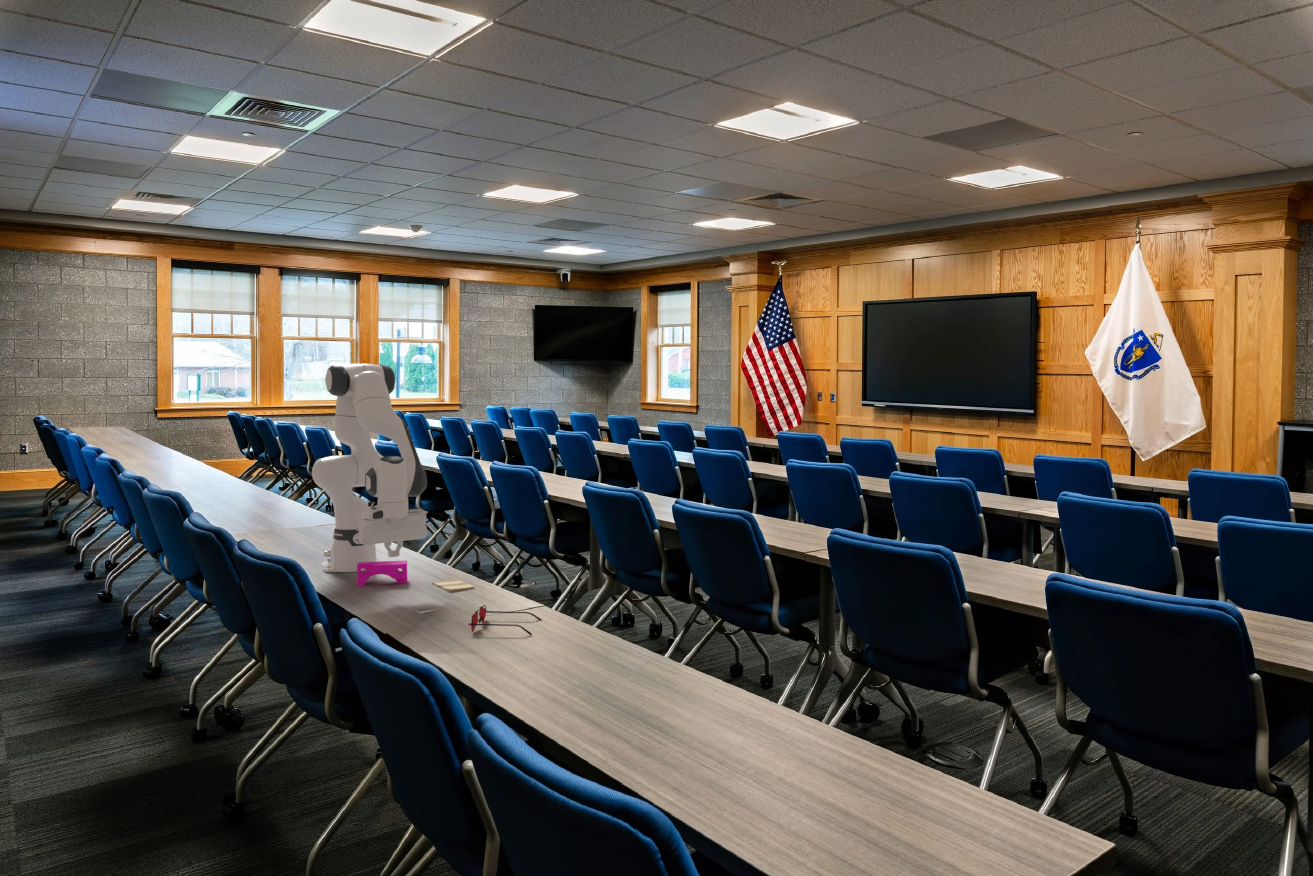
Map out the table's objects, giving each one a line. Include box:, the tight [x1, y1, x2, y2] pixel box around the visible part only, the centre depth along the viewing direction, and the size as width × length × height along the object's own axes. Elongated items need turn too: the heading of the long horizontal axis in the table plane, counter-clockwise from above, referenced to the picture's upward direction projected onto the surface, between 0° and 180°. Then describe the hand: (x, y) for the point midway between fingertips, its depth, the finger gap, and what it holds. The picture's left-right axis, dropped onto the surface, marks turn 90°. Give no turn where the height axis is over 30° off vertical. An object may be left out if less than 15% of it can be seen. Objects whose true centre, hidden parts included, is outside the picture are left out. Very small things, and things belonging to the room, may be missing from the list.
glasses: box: [467, 604, 543, 636], centre depth 233 cm, size 14×16×5 cm
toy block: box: [356, 560, 408, 586], centre depth 282 cm, size 15×6×8 cm, turn 103°
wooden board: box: [431, 578, 475, 593], centre depth 279 cm, size 14×8×1 cm, turn 37°
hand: (393, 556), depth 267 cm, fingers closed
